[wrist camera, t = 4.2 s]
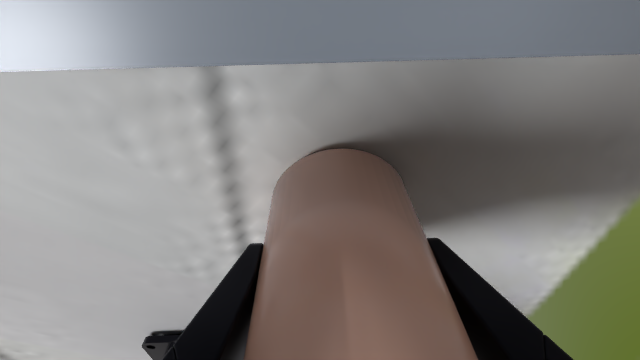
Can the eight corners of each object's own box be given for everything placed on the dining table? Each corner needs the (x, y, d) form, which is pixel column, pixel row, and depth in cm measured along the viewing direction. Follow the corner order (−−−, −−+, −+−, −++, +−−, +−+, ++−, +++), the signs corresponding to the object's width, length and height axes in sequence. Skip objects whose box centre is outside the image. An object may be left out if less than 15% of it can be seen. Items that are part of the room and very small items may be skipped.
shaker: (395, 247, 12) (515, 648, 5) (279, 251, 12) (231, 660, 5) (417, 146, 9) (788, 779, 2) (262, 150, 9) (86, 807, 2)
